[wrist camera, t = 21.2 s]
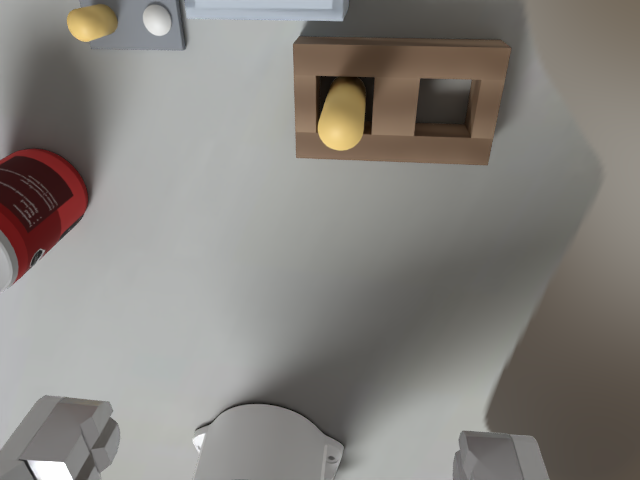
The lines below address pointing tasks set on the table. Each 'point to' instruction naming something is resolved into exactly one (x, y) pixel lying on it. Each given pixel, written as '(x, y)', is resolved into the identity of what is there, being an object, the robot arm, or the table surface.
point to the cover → (267, 9)
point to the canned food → (35, 208)
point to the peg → (343, 114)
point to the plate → (128, 24)
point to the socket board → (402, 96)
